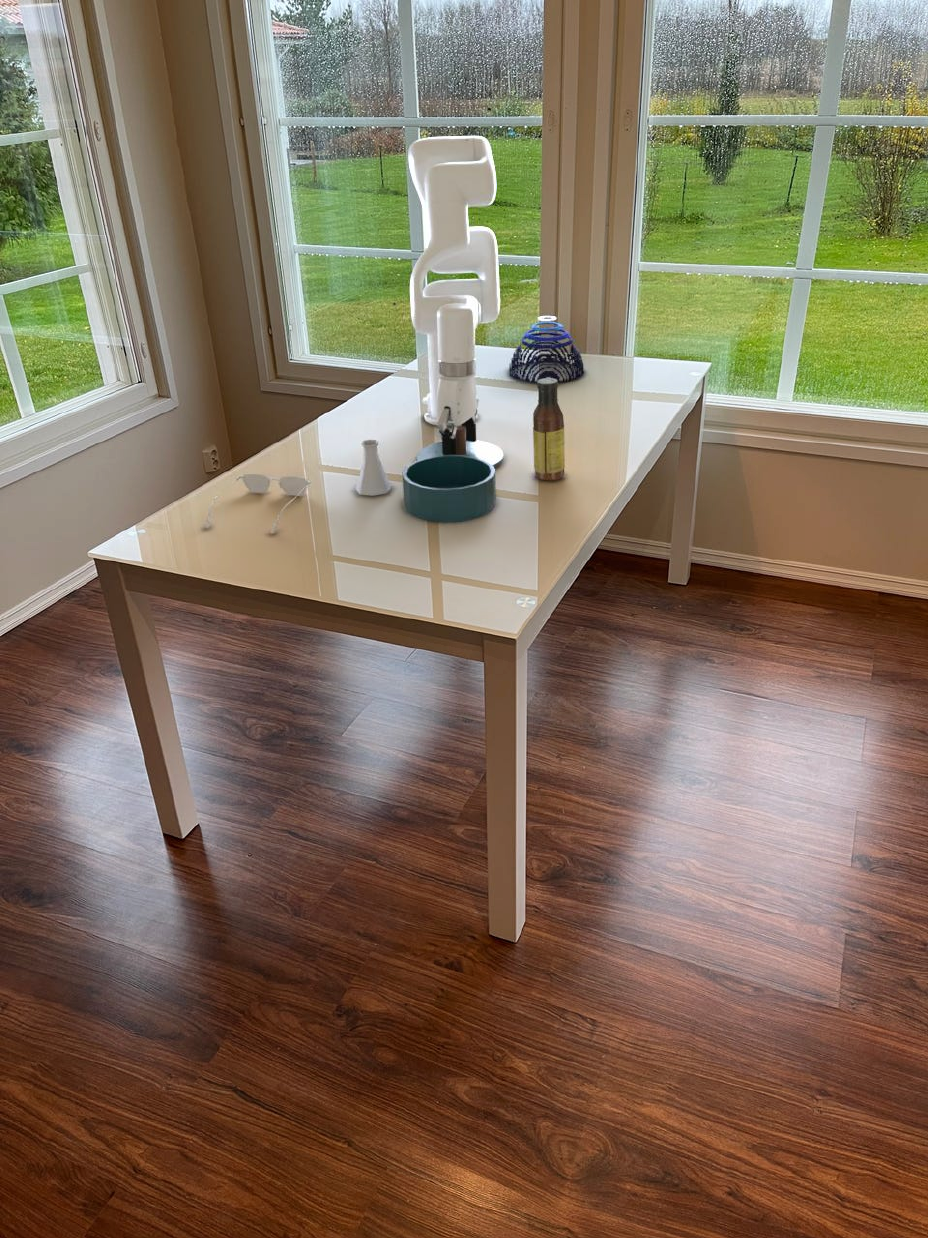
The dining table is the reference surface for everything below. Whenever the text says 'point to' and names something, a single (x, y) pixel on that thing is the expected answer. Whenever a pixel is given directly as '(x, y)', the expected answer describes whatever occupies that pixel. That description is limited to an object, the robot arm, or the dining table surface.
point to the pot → (449, 488)
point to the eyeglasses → (262, 483)
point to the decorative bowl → (576, 356)
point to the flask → (372, 472)
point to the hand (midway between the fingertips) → (459, 447)
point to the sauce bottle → (548, 432)
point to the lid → (466, 449)
